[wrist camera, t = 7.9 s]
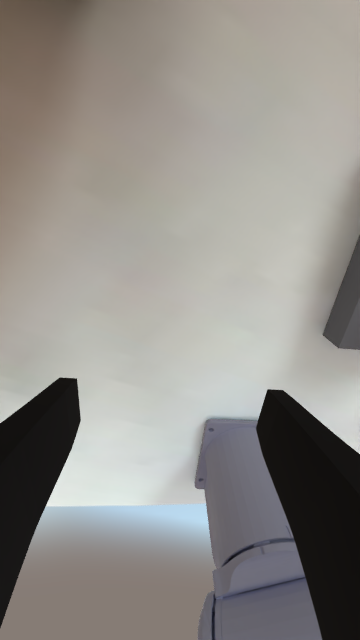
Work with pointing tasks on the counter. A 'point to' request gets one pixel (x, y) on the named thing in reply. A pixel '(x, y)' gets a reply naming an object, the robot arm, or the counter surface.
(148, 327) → the counter surface
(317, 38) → the counter surface
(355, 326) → the plate
